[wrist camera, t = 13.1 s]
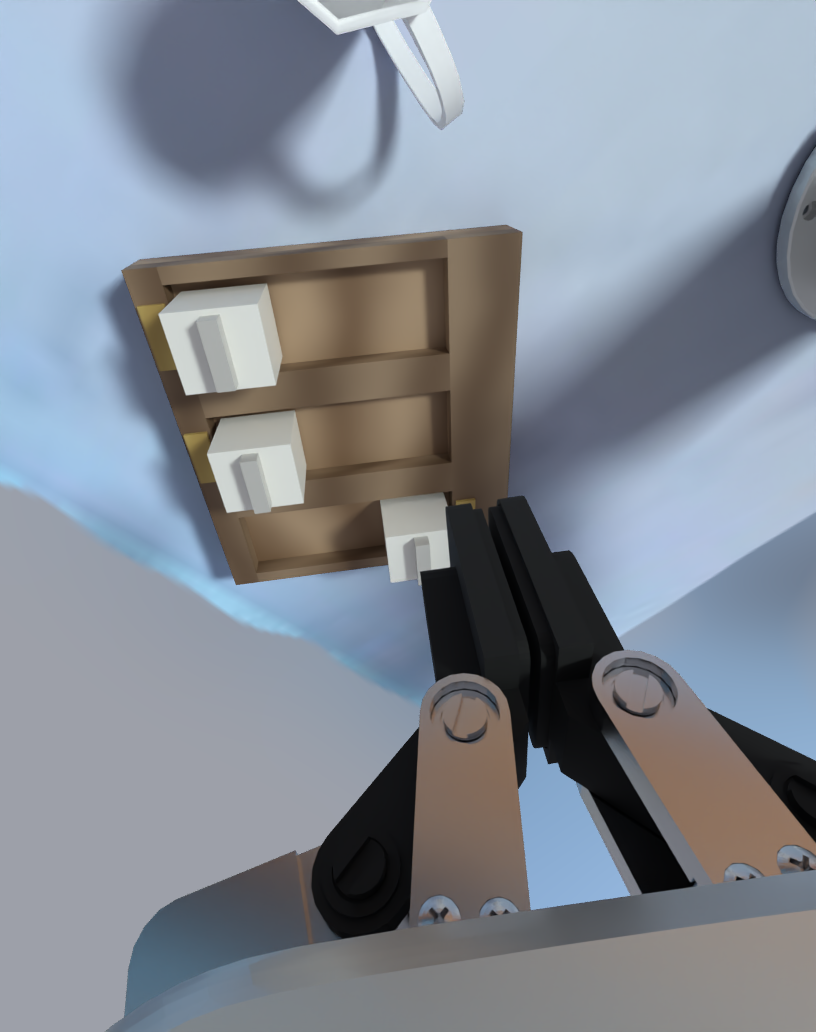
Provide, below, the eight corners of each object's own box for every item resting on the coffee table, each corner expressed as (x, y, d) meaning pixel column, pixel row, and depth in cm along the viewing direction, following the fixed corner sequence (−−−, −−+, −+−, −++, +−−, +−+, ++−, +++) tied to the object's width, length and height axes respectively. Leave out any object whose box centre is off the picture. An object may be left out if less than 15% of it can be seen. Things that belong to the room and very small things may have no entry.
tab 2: (442, 490, 33) (457, 537, 29) (444, 534, 35) (458, 582, 31) (379, 498, 32) (386, 546, 28) (385, 541, 34) (392, 592, 30)
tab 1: (267, 282, 24) (255, 309, 20) (282, 356, 26) (274, 392, 23) (181, 291, 24) (152, 319, 20) (203, 364, 26) (181, 402, 22)
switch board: (506, 224, 26) (523, 232, 23) (494, 525, 37) (505, 550, 35) (139, 259, 25) (119, 271, 22) (241, 558, 36) (235, 587, 34)
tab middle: (294, 410, 28) (289, 452, 24) (306, 465, 30) (302, 511, 26) (220, 418, 28) (203, 462, 24) (237, 473, 30) (224, 521, 26)
